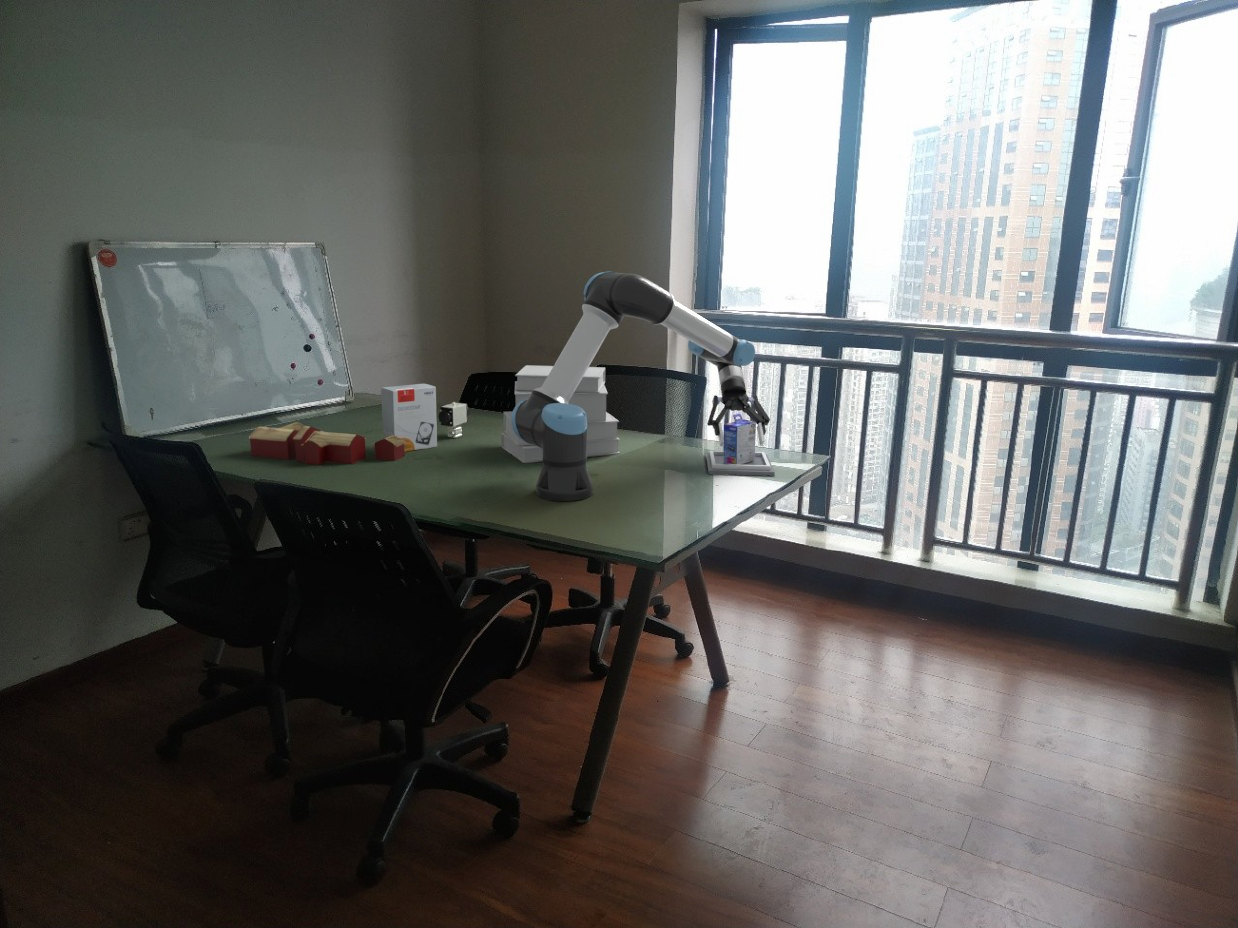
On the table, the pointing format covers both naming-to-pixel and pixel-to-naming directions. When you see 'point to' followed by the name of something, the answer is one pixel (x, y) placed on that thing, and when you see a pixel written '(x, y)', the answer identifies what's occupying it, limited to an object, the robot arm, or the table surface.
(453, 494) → the table surface
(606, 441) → the book stack
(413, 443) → the hard drive box
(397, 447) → the toy houses
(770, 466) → the dock board
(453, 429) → the pneumatic valve
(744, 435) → the ink cartridge box
